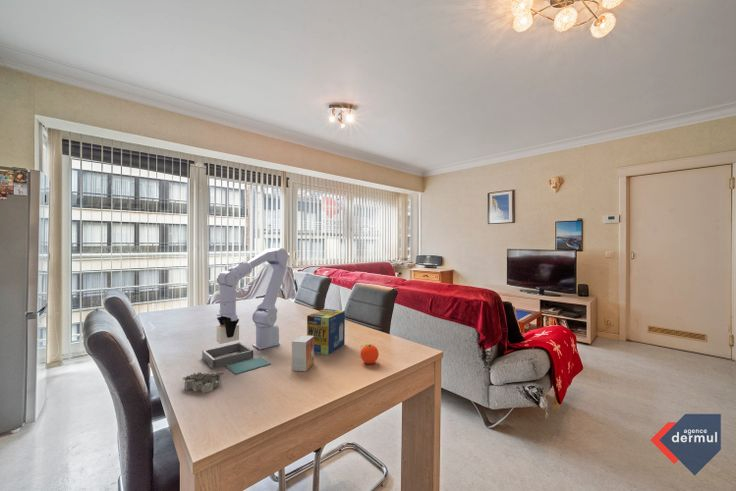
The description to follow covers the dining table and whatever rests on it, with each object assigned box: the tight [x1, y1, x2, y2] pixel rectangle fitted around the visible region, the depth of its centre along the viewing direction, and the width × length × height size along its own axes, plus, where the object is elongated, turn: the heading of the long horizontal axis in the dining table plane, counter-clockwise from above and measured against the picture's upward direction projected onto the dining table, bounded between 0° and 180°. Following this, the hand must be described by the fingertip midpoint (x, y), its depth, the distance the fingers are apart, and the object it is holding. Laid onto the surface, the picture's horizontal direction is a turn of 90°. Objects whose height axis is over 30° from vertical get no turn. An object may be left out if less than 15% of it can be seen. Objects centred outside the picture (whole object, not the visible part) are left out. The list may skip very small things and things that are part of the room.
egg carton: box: [182, 371, 224, 394], centre depth 94 cm, size 11×8×4 cm
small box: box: [291, 334, 315, 372], centre depth 109 cm, size 8×6×10 cm
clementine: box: [360, 343, 379, 365], centre depth 113 cm, size 8×7×7 cm
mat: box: [225, 356, 271, 376], centre depth 110 cm, size 13×9×1 cm
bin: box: [201, 342, 254, 370], centre depth 117 cm, size 15×14×3 cm
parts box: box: [216, 323, 240, 345], centre depth 117 cm, size 4×7×6 cm, turn 134°
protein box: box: [306, 308, 346, 357], centre depth 128 cm, size 10×15×16 cm
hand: (227, 335), depth 117 cm, fingers closed on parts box, 4 cm apart
